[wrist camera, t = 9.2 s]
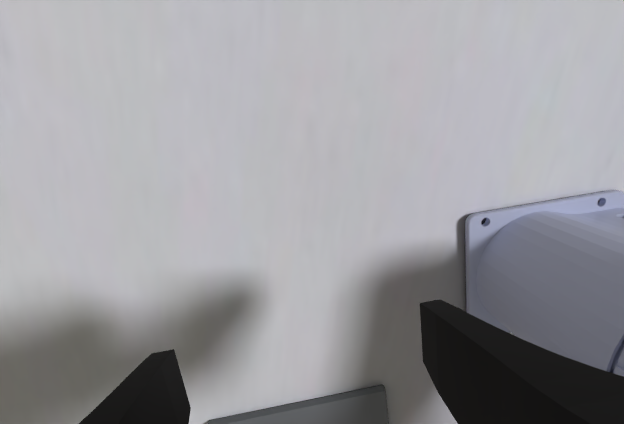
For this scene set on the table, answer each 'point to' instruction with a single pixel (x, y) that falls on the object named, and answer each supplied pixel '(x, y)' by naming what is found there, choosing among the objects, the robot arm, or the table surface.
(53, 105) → the table surface
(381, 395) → the charcoal mat
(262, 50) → the table surface
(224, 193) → the table surface
